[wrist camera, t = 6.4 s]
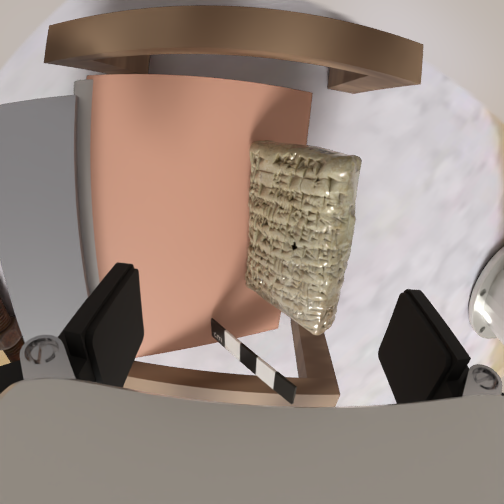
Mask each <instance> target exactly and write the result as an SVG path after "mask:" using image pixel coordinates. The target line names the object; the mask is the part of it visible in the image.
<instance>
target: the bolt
mask: <svg viewBox="0 0 504 504" xmlns="http://www.w3.org/2000/svg"><path fill="white" fill-rule="evenodd" d="M21 337H22V333H21V330H20V327H19V325H18V322H17V319H16V317H10V316H9V314H8V312H7V310H6V308H5V306H4V305H3V303H2V301H1V298H0V350H3V351H4V353H5V354H6V355H7V357H8V359H9V360H10V362H11V363H12V362H15V361H18V360H20V350H21V348H22V346H23V345H24V344H25V342H24V341H23V339H22V338H21Z"/></svg>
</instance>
